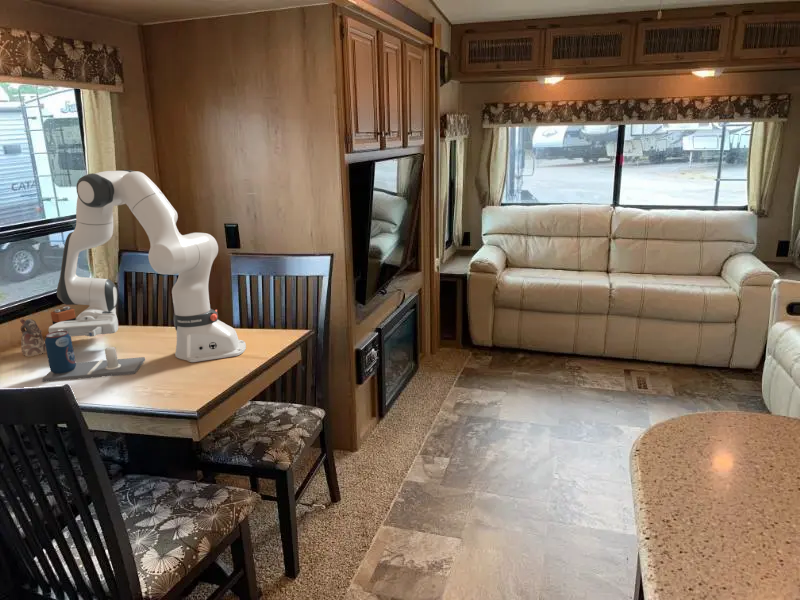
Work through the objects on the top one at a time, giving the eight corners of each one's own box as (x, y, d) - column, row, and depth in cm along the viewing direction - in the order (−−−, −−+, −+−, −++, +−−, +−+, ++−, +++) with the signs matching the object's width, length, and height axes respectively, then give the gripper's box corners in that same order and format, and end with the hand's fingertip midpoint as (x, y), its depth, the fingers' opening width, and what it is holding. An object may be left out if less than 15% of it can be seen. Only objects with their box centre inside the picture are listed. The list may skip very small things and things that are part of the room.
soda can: (77, 372, 178) (70, 334, 175) (51, 377, 175) (43, 339, 171) (76, 365, 184) (69, 328, 181) (50, 369, 180) (43, 332, 177)
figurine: (35, 356, 196) (28, 322, 192) (17, 355, 197) (10, 321, 194) (51, 349, 202) (45, 316, 199) (34, 348, 204) (27, 315, 201)
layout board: (145, 359, 189) (141, 339, 187) (134, 373, 178) (131, 352, 176) (58, 367, 186) (54, 346, 184) (42, 381, 174) (38, 359, 172)
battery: (79, 332, 221) (74, 306, 218) (61, 337, 215) (55, 311, 213) (72, 330, 223) (67, 305, 221) (54, 335, 218) (49, 309, 215)
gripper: (56, 316, 198) (38, 328, 185) (120, 311, 201) (107, 323, 188) (59, 333, 199) (42, 347, 186) (123, 329, 202) (110, 342, 189)
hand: (75, 335), depth 187 cm, fingers open, 8 cm apart
